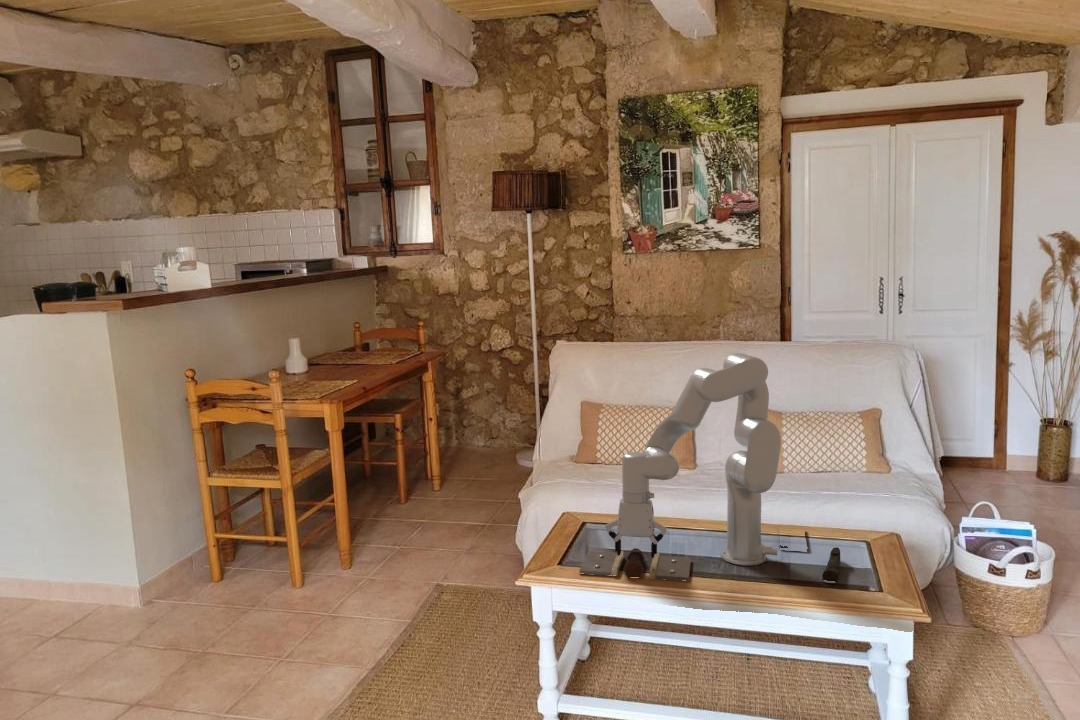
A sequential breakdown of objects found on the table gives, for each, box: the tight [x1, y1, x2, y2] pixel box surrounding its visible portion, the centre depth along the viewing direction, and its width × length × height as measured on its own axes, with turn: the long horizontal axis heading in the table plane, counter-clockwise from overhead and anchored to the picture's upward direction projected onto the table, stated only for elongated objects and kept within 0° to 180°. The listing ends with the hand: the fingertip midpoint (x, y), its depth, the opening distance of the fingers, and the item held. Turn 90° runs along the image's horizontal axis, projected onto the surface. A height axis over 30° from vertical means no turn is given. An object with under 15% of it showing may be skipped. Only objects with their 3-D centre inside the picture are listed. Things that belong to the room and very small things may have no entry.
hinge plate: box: [579, 550, 692, 581], centre depth 226 cm, size 30×15×2 cm, turn 77°
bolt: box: [622, 547, 645, 578], centre depth 226 cm, size 6×5×15 cm
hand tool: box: [822, 546, 841, 583], centre depth 220 cm, size 19×4×5 cm, turn 152°
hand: (636, 555), depth 226 cm, fingers open, 9 cm apart
